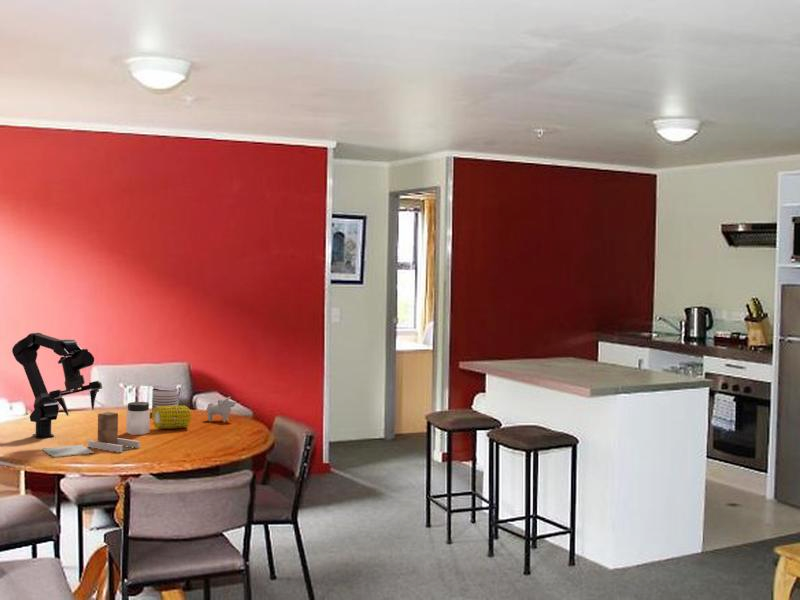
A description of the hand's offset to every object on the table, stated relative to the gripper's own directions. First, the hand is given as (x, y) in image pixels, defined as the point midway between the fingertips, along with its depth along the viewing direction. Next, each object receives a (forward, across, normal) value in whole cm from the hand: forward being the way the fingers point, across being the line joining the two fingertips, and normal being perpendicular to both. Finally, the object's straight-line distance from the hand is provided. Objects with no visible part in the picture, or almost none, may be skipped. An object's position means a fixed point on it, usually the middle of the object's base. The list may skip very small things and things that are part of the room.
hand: (80, 412), depth 337 cm
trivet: (+14, -5, -12) cm, 19 cm away
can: (+4, +27, +67) cm, 73 cm away
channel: (+16, +10, -6) cm, 20 cm away
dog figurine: (+14, +50, +47) cm, 71 cm away
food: (+13, +30, +30) cm, 44 cm away
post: (+15, +7, -4) cm, 17 cm away
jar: (+12, +17, +22) cm, 30 cm away
